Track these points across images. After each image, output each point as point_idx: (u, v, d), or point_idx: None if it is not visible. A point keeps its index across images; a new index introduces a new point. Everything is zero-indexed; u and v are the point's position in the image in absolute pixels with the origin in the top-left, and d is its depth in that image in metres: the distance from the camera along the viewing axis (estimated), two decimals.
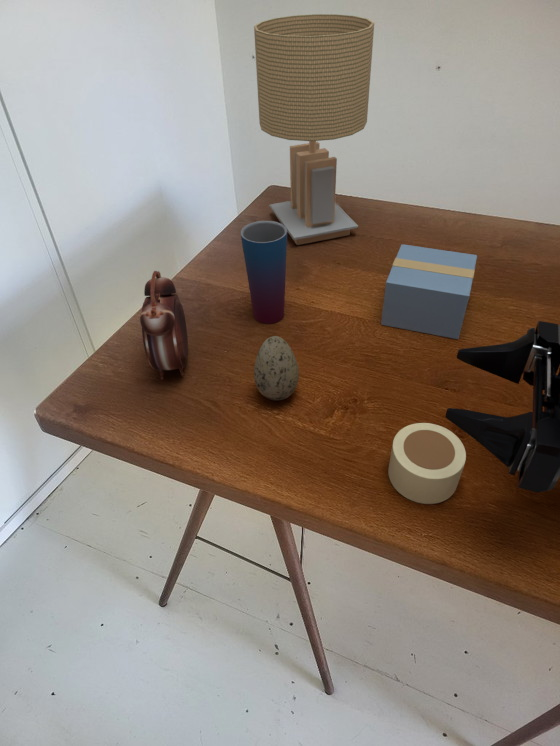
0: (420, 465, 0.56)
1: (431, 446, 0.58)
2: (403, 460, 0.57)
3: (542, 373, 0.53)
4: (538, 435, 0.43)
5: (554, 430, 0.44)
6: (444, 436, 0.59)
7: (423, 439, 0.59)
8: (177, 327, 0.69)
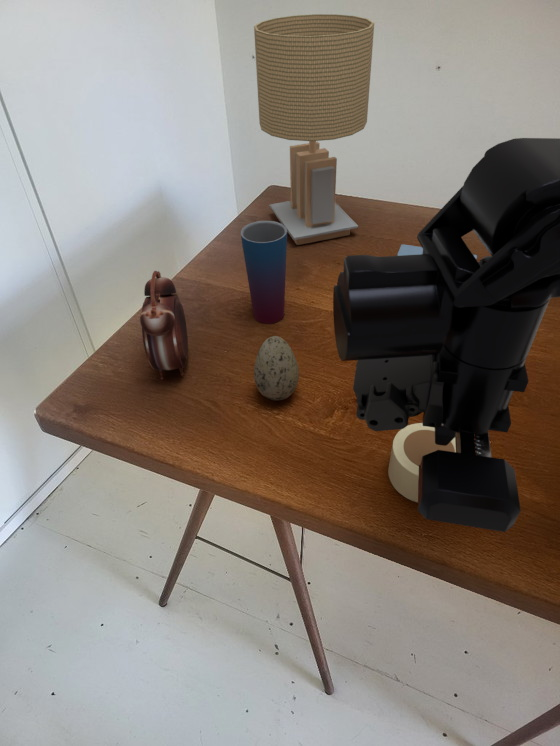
0: None
1: (431, 446, 0.58)
2: (403, 460, 0.57)
3: None
4: (418, 498, 0.36)
5: (421, 477, 0.36)
6: None
7: (423, 439, 0.59)
8: (177, 327, 0.69)
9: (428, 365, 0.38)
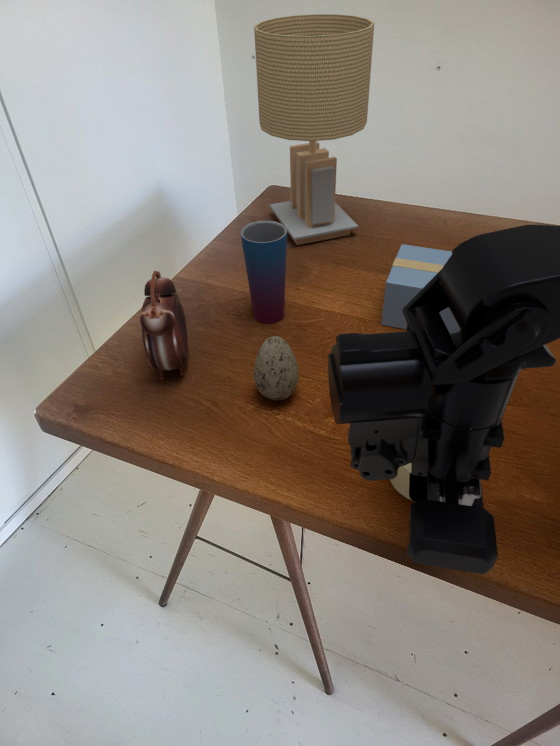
0: None
1: None
2: None
3: None
4: (407, 543, 0.40)
5: (409, 523, 0.40)
6: None
7: None
8: (177, 327, 0.69)
9: (415, 420, 0.42)
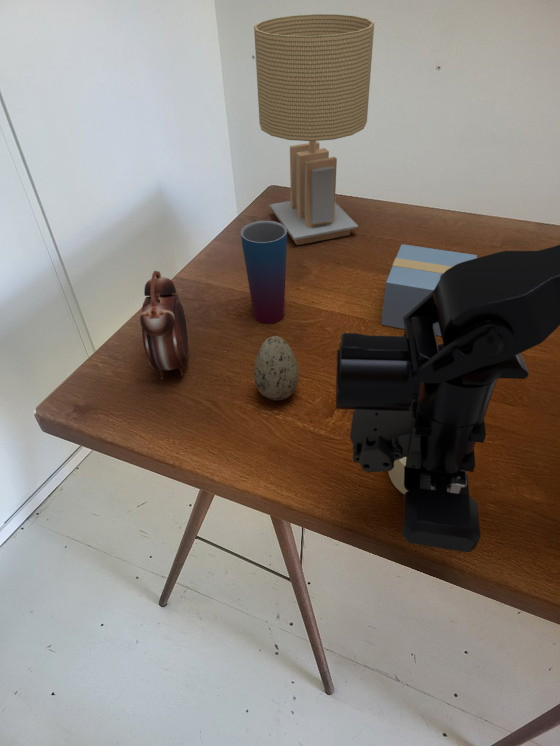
0: None
1: None
2: (403, 458, 0.57)
3: None
4: (402, 526, 0.46)
5: (404, 509, 0.46)
6: None
7: None
8: (177, 327, 0.69)
9: (409, 419, 0.47)
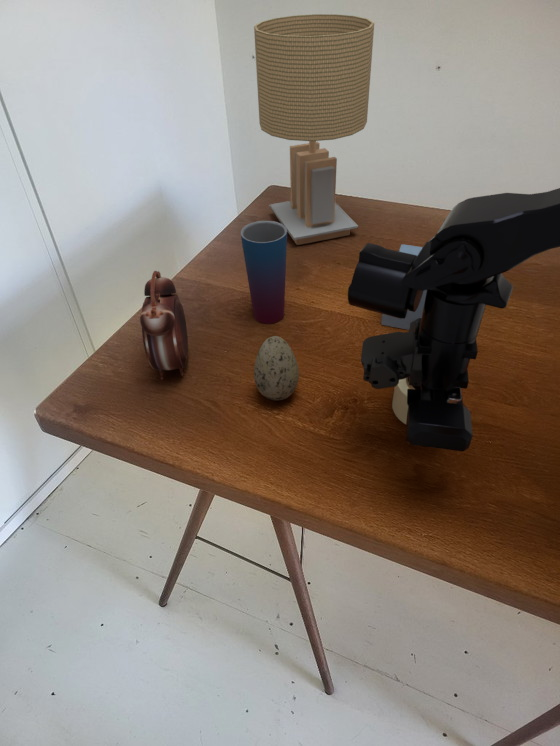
0: None
1: None
2: (405, 390, 0.65)
3: None
4: (406, 432, 0.53)
5: (407, 417, 0.53)
6: None
7: None
8: (177, 327, 0.69)
9: (412, 343, 0.55)
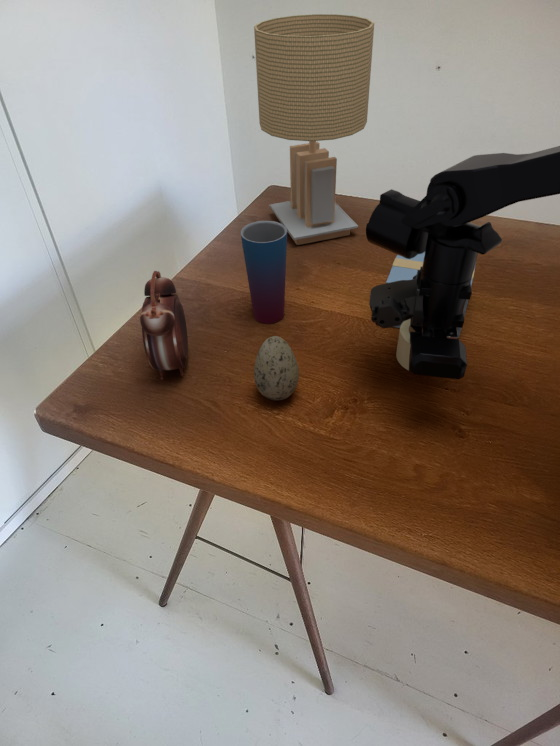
0: None
1: None
2: (408, 338, 0.72)
3: None
4: (409, 364, 0.61)
5: (410, 351, 0.61)
6: None
7: None
8: (177, 327, 0.69)
9: (414, 288, 0.63)
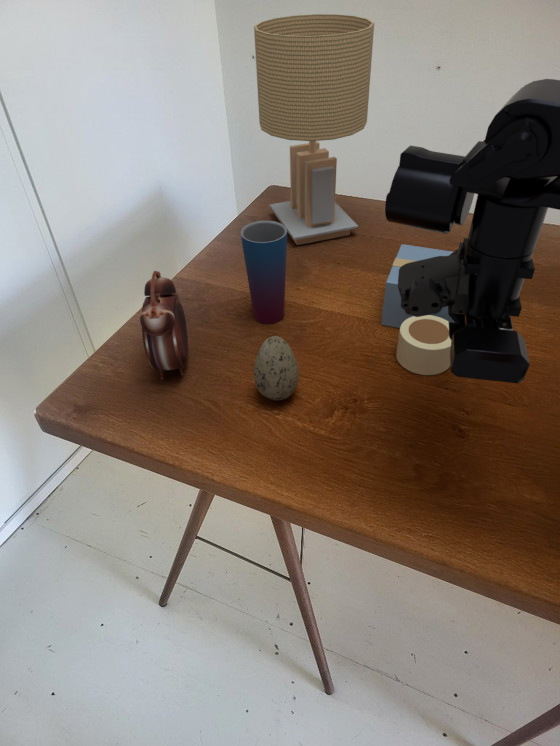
0: (421, 341, 0.72)
1: (430, 329, 0.73)
2: (408, 338, 0.72)
3: None
4: (450, 364, 0.47)
5: (452, 347, 0.47)
6: (441, 323, 0.75)
7: (424, 325, 0.74)
8: (177, 327, 0.69)
9: (456, 265, 0.49)
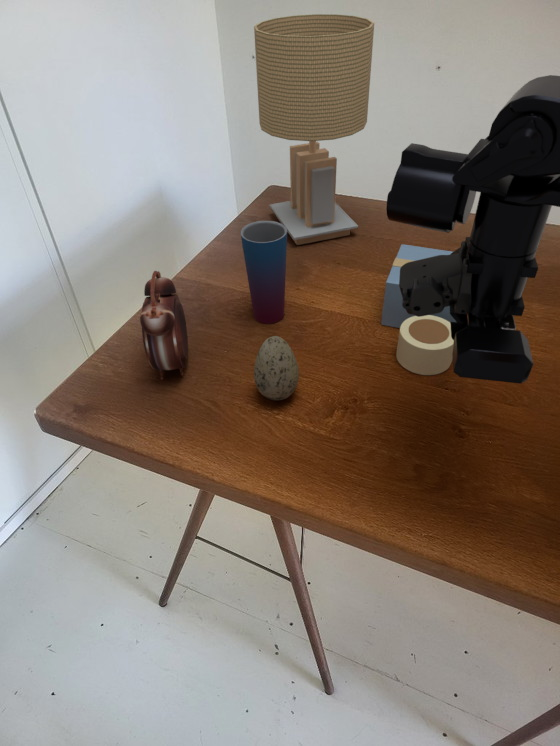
0: (421, 341, 0.72)
1: (430, 329, 0.73)
2: (408, 338, 0.72)
3: None
4: (453, 364, 0.46)
5: (455, 347, 0.46)
6: (441, 323, 0.75)
7: (424, 325, 0.74)
8: (177, 327, 0.69)
9: (459, 264, 0.48)
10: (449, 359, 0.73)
